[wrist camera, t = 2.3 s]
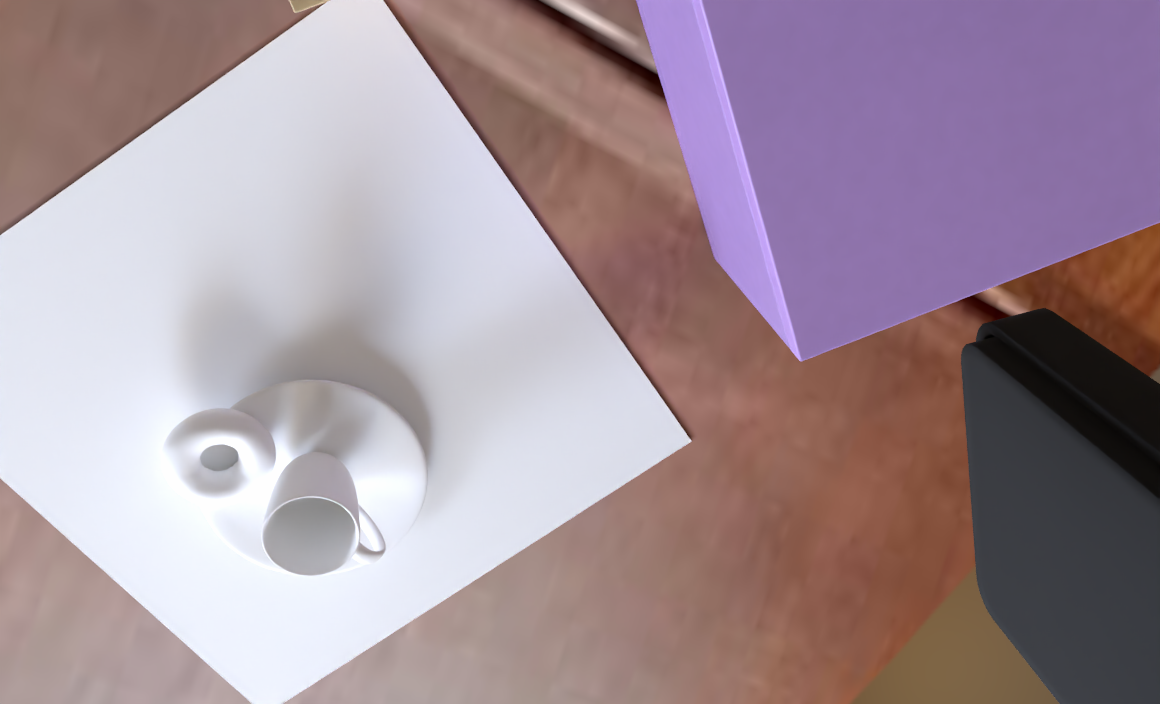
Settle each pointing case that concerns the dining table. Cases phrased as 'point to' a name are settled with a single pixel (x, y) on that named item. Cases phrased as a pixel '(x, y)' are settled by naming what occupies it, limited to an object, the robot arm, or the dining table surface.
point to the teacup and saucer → (308, 360)
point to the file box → (709, 149)
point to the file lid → (932, 145)
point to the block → (304, 4)
